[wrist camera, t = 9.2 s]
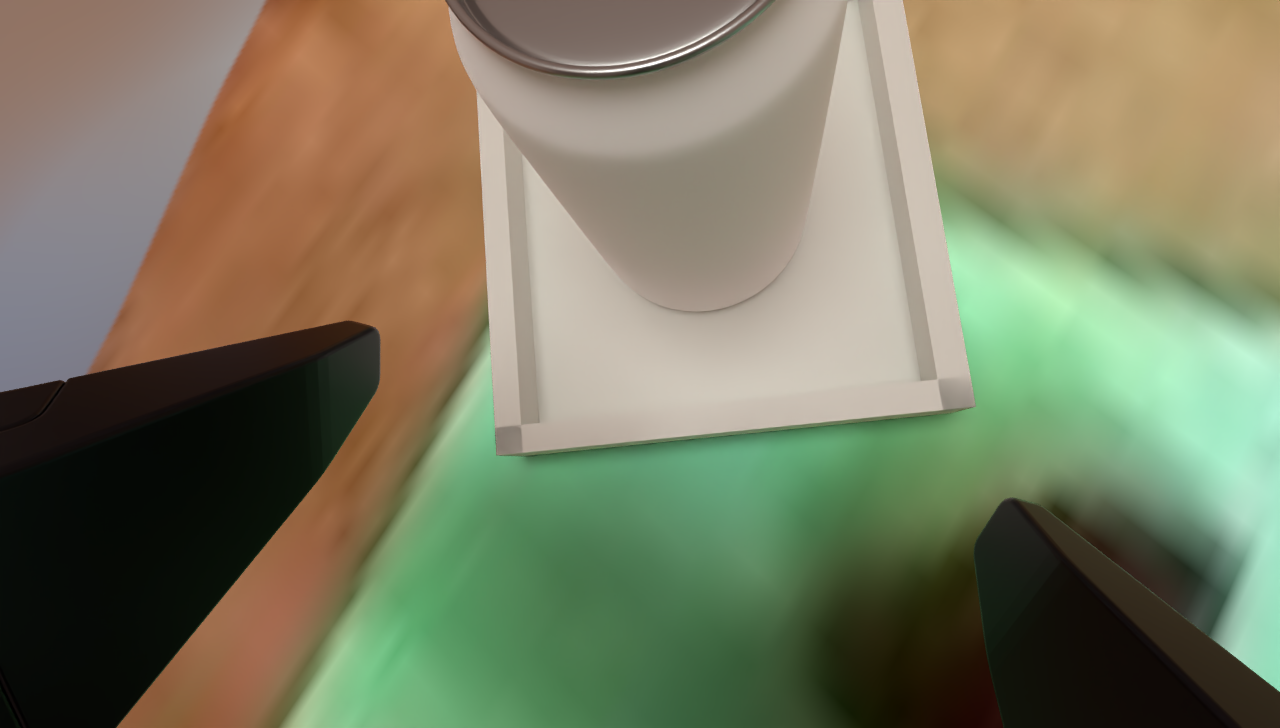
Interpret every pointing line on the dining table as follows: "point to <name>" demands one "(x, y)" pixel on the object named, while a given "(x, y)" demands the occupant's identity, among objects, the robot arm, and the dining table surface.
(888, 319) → the tray
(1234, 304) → the dining table surface
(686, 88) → the can
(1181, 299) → the dining table surface
